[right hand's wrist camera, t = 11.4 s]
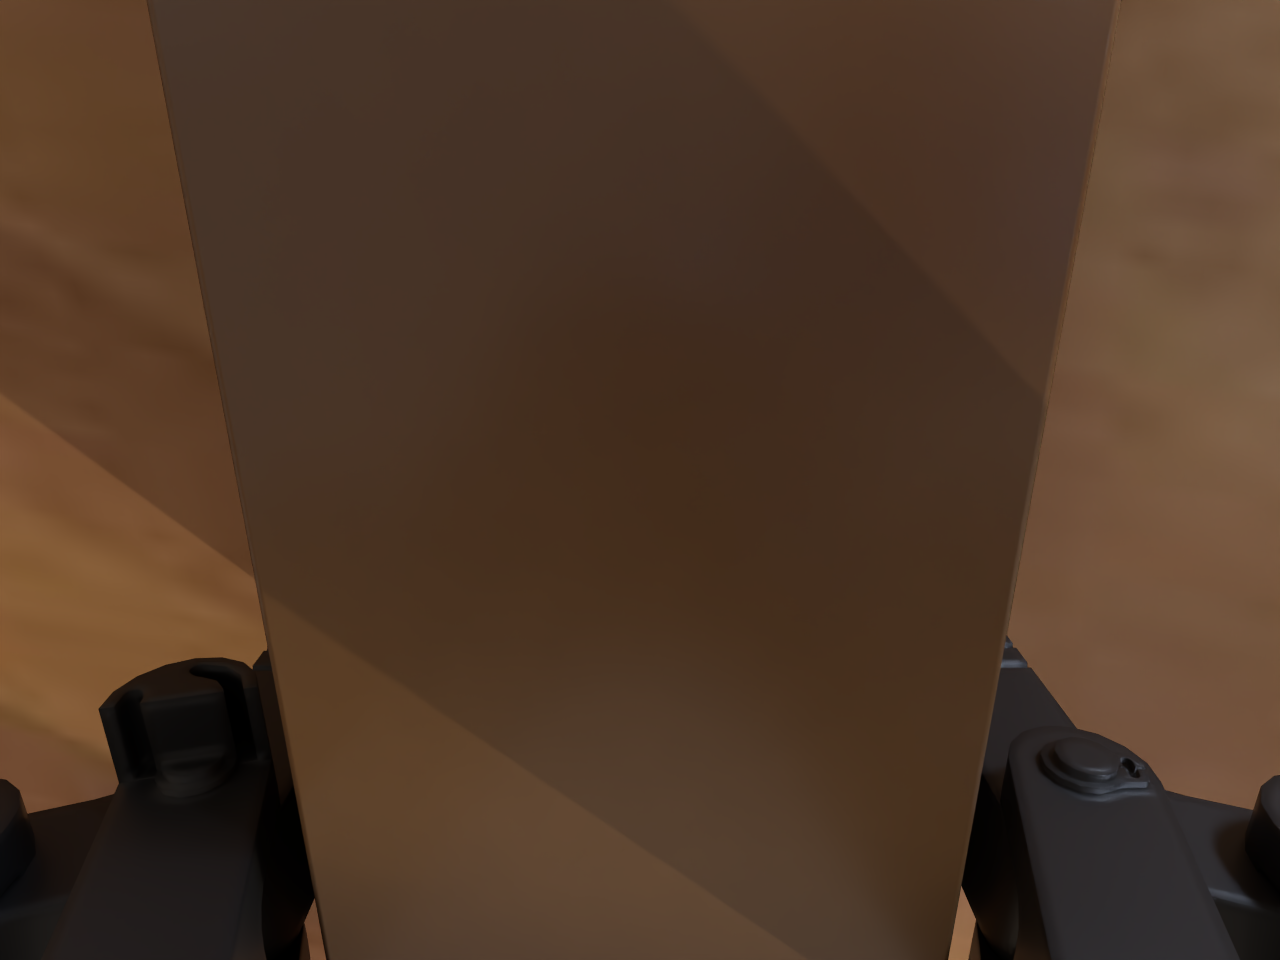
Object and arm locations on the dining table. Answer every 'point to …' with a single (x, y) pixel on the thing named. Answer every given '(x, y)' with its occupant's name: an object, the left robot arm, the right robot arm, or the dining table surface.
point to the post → (635, 444)
